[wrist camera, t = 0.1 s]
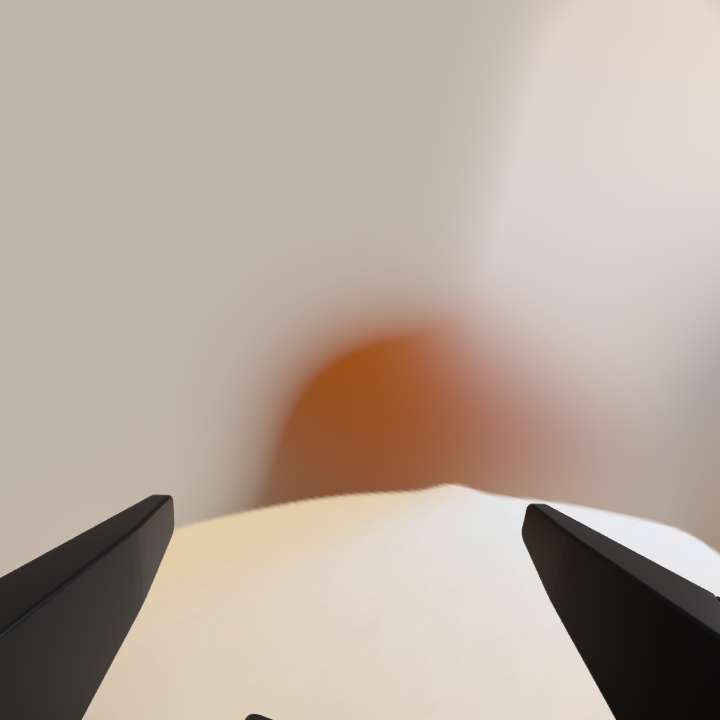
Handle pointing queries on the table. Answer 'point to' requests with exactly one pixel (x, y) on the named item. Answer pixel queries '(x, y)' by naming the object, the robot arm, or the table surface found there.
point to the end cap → (256, 717)
